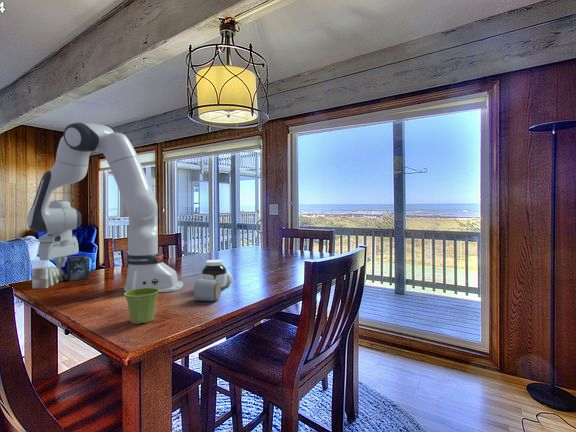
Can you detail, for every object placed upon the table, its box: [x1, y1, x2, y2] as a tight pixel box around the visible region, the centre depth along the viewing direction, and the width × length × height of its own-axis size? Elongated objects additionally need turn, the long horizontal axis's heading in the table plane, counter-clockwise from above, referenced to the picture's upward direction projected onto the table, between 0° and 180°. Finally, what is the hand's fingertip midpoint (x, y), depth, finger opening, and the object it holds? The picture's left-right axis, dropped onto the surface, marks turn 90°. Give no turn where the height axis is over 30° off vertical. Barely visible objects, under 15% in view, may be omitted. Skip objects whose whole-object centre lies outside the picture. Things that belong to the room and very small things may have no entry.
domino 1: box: [31, 267, 49, 290], centre depth 128 cm, size 5×2×8 cm, turn 98°
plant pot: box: [123, 288, 160, 325], centre depth 92 cm, size 9×9×9 cm
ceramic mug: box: [193, 278, 222, 302], centre depth 114 cm, size 11×8×8 cm
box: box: [66, 254, 91, 282], centre depth 143 cm, size 8×6×11 cm
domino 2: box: [36, 266, 55, 287], centre depth 131 cm, size 5×2×8 cm, turn 98°
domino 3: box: [50, 266, 60, 285], centre depth 133 cm, size 5×2×8 cm, turn 98°
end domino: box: [57, 267, 68, 281], centre depth 139 cm, size 5×2×8 cm
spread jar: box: [200, 259, 234, 291], centre depth 130 cm, size 12×11×12 cm
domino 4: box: [53, 266, 64, 283], centre depth 136 cm, size 5×2×8 cm
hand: (60, 266), depth 142 cm, fingers closed
